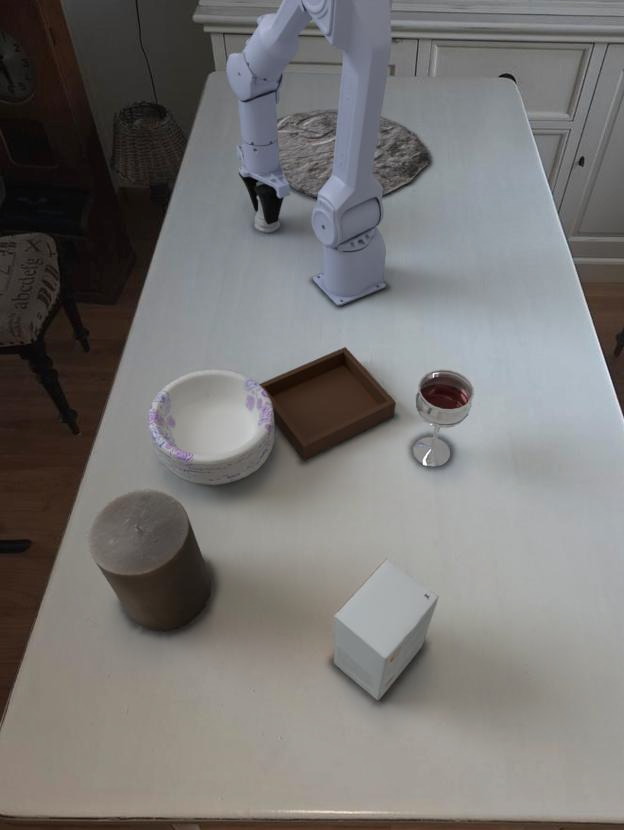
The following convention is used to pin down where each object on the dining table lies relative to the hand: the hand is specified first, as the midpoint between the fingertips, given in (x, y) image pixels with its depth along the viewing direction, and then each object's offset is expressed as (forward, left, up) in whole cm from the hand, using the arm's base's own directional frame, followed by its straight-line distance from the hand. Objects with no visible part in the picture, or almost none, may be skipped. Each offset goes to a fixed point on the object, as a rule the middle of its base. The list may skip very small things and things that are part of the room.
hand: (266, 216), depth 110 cm
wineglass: (+6, +56, -2) cm, 56 cm away
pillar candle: (+44, +56, -2) cm, 71 cm away
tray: (+14, +42, -2) cm, 44 cm away
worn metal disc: (-25, -15, -2) cm, 29 cm away
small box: (+28, +75, -2) cm, 80 cm away
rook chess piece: (0, 0, -2) cm, 2 cm away
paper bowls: (+30, +41, -2) cm, 51 cm away
